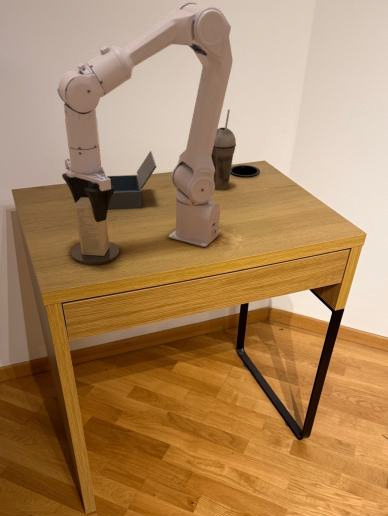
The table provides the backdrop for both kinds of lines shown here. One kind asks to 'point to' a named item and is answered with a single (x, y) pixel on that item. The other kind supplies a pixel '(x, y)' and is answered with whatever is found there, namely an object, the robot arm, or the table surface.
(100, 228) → the box
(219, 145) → the beverage cup
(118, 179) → the carton
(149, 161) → the flap
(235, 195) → the table surface
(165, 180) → the table surface
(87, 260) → the coaster
